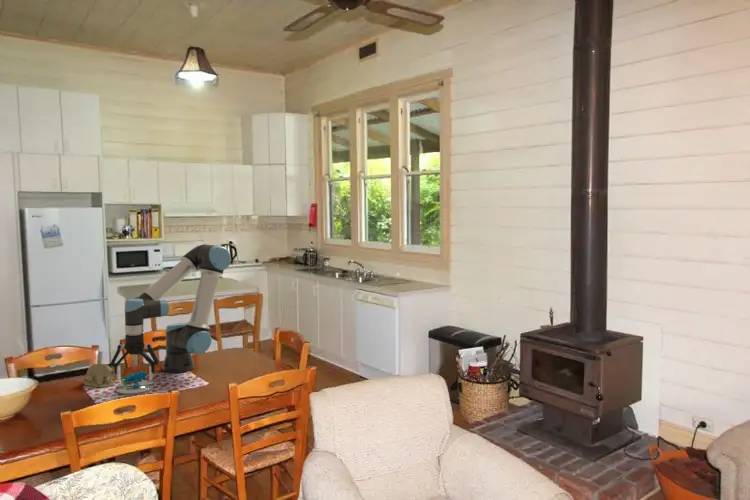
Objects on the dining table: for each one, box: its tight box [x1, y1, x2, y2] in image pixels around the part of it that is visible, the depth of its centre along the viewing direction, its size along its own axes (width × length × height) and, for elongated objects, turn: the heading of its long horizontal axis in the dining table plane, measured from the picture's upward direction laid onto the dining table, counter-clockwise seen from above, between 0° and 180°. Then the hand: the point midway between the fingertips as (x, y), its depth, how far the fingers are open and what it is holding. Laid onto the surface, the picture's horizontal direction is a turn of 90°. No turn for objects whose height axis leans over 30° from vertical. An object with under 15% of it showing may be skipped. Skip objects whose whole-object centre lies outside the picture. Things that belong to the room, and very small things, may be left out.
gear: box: [120, 370, 148, 389], centre depth 249 cm, size 11×6×10 cm
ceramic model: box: [83, 362, 116, 388], centre depth 257 cm, size 14×11×10 cm
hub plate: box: [115, 380, 155, 396], centre depth 251 cm, size 16×16×1 cm
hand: (134, 380), depth 251 cm, fingers open, 13 cm apart
